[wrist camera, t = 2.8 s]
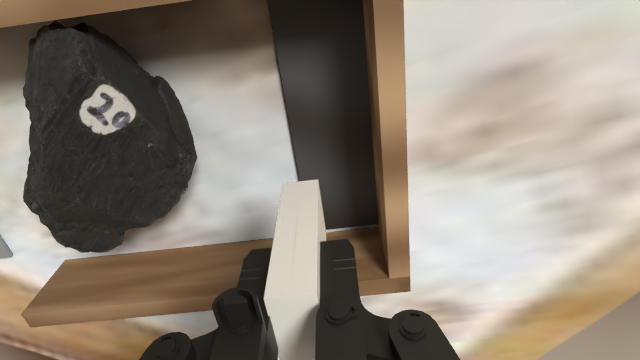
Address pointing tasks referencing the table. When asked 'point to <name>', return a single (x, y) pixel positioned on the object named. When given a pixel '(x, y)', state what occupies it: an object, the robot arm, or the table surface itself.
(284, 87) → the open wooden frame
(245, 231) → the table surface
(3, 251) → the mat
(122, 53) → the rock
